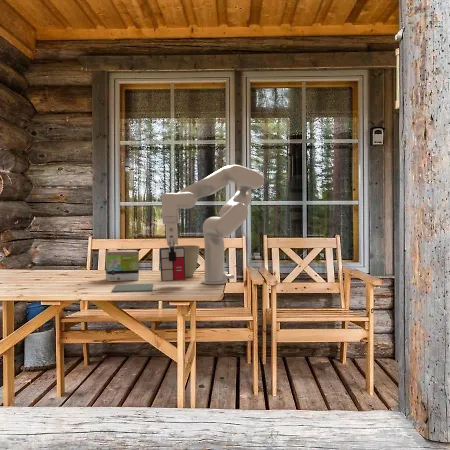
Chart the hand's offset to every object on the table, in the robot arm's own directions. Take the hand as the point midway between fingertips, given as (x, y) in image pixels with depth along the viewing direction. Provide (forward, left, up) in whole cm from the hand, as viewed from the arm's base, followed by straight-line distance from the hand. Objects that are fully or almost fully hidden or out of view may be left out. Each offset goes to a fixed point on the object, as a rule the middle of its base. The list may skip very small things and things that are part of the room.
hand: (172, 259), depth 201 cm
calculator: (0, 0, -10) cm, 10 cm away
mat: (+17, +2, -12) cm, 21 cm away
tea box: (+25, -24, -13) cm, 37 cm away
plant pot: (-7, -31, -13) cm, 34 cm away
